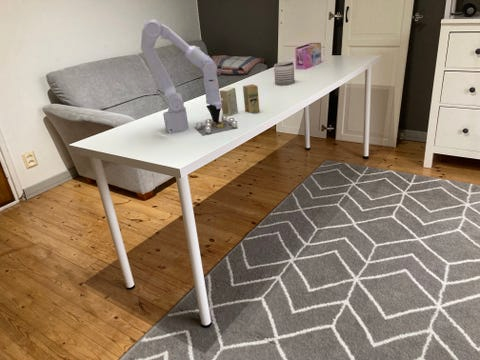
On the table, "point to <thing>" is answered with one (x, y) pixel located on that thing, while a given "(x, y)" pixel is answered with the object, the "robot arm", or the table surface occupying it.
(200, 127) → the spacers
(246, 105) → the shoe polish box
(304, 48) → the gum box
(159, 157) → the table surface
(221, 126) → the nut
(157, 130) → the table surface
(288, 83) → the can
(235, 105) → the skincare box
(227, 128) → the mat
